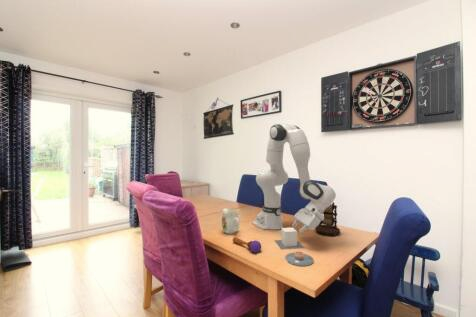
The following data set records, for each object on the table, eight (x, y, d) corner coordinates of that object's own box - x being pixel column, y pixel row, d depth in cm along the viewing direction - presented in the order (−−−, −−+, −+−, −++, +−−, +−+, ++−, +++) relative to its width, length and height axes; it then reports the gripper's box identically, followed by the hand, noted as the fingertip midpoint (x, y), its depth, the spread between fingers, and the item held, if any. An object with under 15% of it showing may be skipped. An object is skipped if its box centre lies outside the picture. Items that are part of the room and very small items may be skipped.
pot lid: (279, 258, 111) (279, 252, 111) (297, 251, 119) (297, 245, 119) (301, 269, 101) (301, 262, 101) (319, 261, 108) (319, 254, 108)
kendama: (239, 234, 134) (264, 241, 119) (238, 245, 133) (263, 253, 118) (231, 234, 131) (255, 242, 115) (230, 245, 130) (254, 254, 114)
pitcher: (231, 238, 138) (230, 215, 138) (216, 230, 153) (216, 209, 153) (246, 235, 144) (246, 212, 144) (231, 227, 159) (231, 207, 159)
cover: (281, 242, 131) (281, 228, 130) (292, 241, 131) (292, 227, 131) (285, 246, 124) (285, 231, 124) (297, 246, 125) (297, 231, 125)
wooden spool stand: (342, 231, 150) (342, 200, 149) (337, 238, 137) (337, 204, 137) (318, 227, 158) (318, 198, 158) (312, 233, 146) (312, 202, 145)
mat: (274, 241, 133) (274, 240, 133) (295, 240, 135) (295, 239, 135) (281, 250, 120) (281, 249, 120) (305, 249, 122) (305, 248, 122)
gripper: (301, 203, 139) (286, 220, 138) (317, 211, 119) (299, 231, 118) (308, 210, 140) (293, 227, 139) (326, 219, 119) (308, 239, 118)
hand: (296, 229), depth 128 cm, fingers open, 8 cm apart
